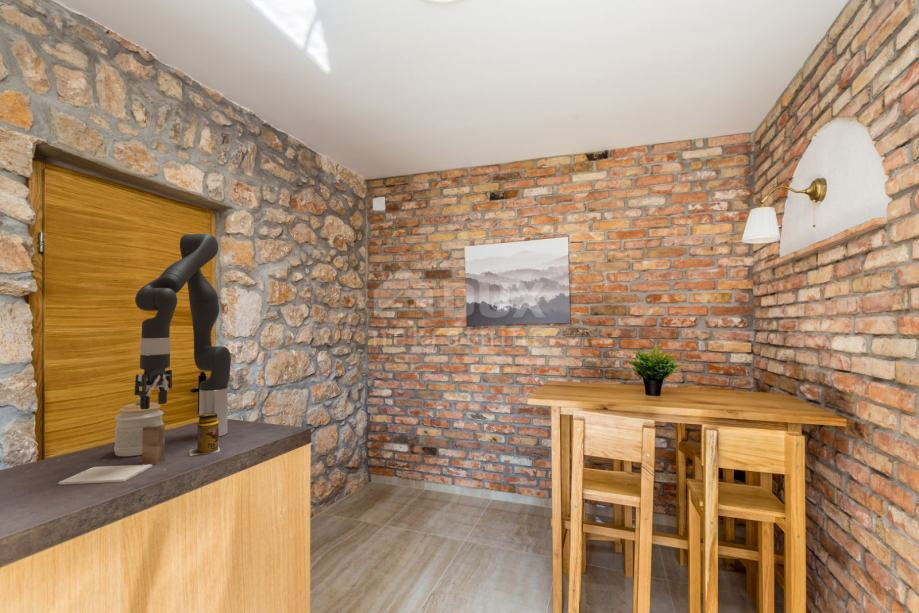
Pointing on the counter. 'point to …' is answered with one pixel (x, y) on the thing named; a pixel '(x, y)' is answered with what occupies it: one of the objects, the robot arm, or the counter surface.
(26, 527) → the counter surface
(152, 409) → the jar
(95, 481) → the mat
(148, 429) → the block
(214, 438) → the condiment
